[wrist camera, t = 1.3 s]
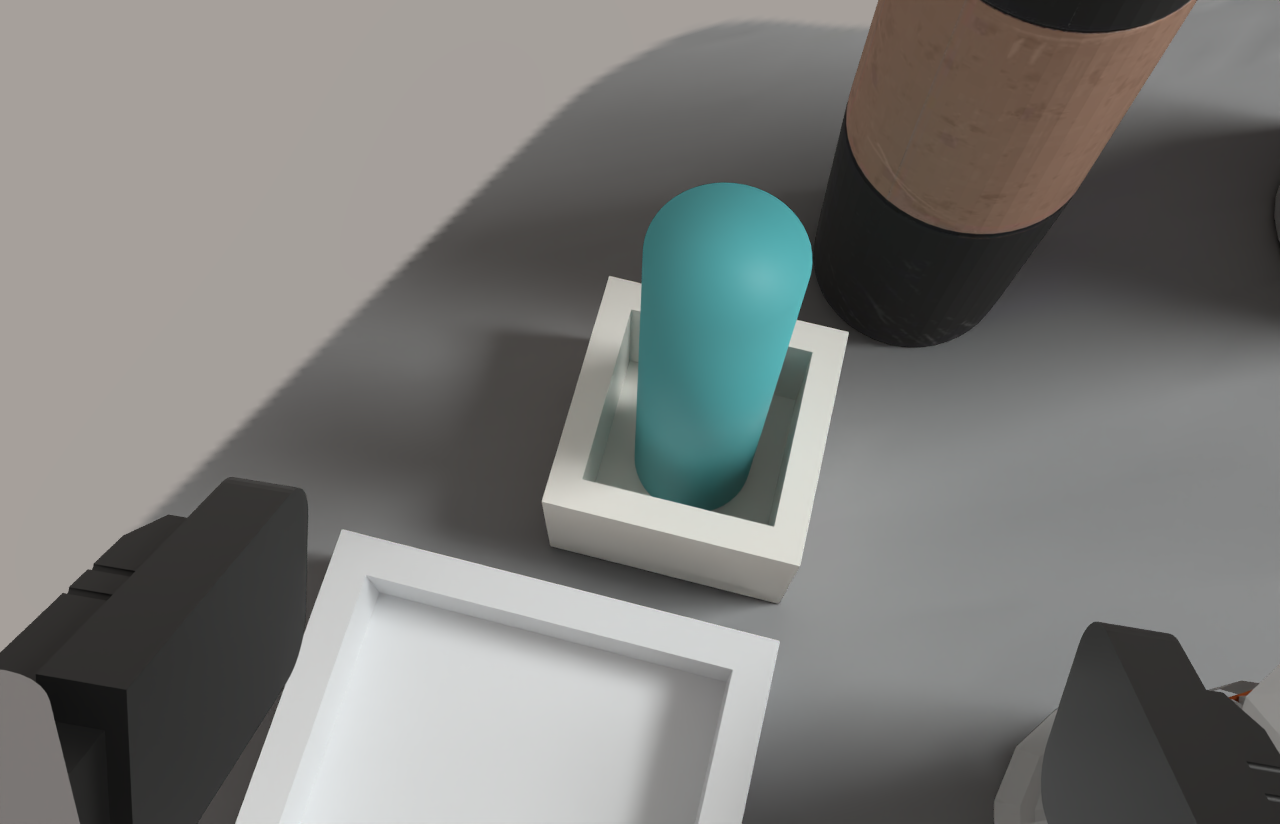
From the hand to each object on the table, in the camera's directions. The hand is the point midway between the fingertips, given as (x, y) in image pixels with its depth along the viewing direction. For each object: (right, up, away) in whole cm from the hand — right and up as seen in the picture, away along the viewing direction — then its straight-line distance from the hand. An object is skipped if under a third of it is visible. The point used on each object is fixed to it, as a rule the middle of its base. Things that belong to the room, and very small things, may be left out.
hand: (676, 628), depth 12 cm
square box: (+1, 0, +30) cm, 30 cm away
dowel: (+1, +1, +29) cm, 29 cm away
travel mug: (+10, +8, +33) cm, 35 cm away
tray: (-4, -10, +26) cm, 28 cm away
